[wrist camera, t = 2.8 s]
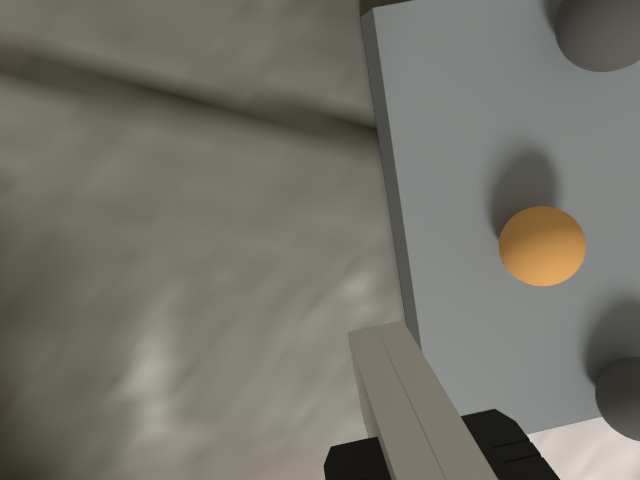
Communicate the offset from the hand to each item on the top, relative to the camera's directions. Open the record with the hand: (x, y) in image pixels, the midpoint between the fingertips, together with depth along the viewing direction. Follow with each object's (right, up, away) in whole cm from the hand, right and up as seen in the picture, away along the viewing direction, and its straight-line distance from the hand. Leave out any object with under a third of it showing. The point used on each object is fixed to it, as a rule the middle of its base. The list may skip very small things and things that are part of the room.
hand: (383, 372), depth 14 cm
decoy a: (+9, +11, +5) cm, 15 cm away
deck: (+13, +6, +11) cm, 18 cm away
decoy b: (+13, -4, +9) cm, 16 cm away
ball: (+7, +3, +7) cm, 10 cm away
